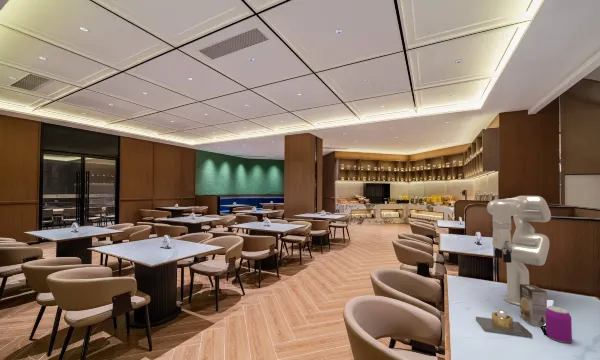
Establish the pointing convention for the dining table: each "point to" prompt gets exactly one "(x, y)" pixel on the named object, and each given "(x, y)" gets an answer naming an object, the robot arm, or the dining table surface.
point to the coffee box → (533, 304)
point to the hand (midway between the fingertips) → (502, 260)
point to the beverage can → (558, 324)
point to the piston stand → (490, 327)
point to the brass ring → (502, 321)
